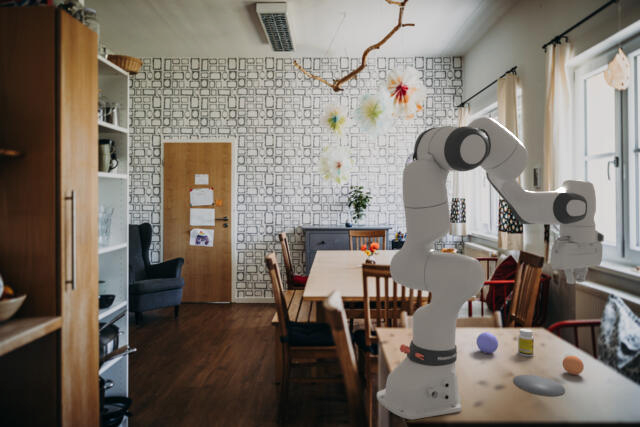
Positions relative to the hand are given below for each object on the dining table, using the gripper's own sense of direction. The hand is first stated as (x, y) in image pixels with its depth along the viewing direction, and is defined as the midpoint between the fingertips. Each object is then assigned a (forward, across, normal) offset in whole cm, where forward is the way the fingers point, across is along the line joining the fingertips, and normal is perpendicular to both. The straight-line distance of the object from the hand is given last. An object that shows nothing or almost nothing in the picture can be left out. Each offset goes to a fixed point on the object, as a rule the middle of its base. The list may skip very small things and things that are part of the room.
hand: (575, 282), depth 116 cm
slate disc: (+29, -12, +3) cm, 32 cm away
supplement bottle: (+29, +7, +20) cm, 36 cm away
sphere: (+29, -4, +27) cm, 40 cm away
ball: (+26, +5, +3) cm, 27 cm away
